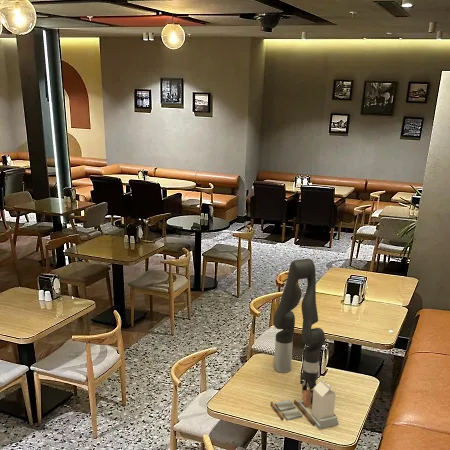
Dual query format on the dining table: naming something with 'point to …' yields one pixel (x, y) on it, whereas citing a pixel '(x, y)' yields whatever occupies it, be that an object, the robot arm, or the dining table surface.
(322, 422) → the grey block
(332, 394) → the milk carton
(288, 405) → the board
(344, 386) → the dining table surface
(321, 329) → the robot arm
